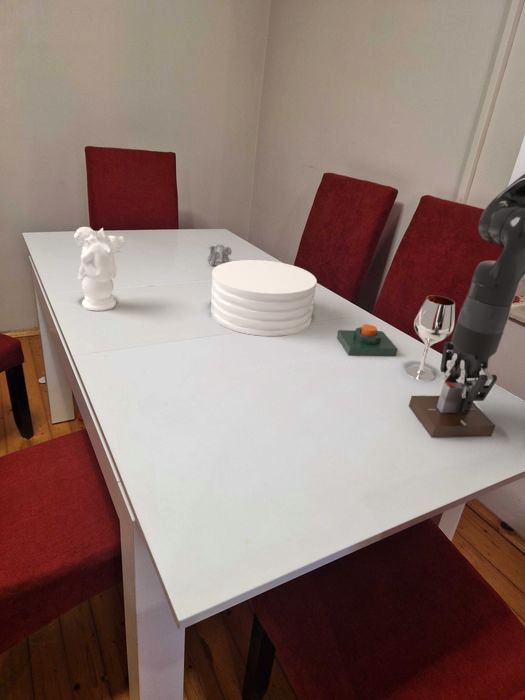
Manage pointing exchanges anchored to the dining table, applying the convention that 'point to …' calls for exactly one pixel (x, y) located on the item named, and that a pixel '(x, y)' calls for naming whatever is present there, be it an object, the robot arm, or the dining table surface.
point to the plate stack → (262, 297)
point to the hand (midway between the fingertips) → (453, 404)
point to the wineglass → (432, 329)
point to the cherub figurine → (97, 267)
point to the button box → (366, 343)
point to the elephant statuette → (219, 254)
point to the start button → (368, 330)
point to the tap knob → (450, 397)
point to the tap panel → (450, 419)
